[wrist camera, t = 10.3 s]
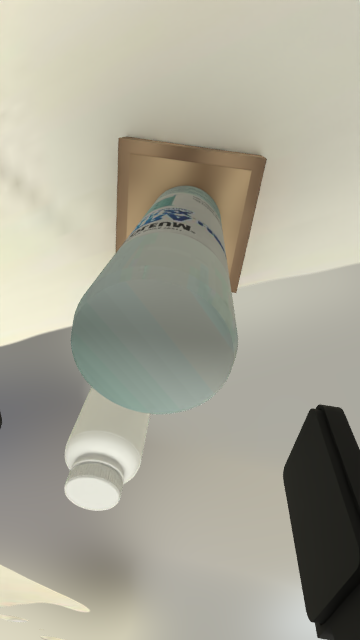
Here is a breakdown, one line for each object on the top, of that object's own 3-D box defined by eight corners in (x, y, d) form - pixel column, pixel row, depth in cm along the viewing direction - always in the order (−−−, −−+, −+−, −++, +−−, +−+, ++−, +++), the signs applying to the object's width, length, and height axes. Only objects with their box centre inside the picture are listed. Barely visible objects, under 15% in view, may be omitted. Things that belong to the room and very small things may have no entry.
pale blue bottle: (175, 270, 32) (136, 436, 15) (134, 211, 30) (29, 329, 13) (235, 233, 30) (270, 378, 13) (196, 166, 28) (173, 235, 10)
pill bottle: (154, 412, 46) (133, 523, 33) (96, 406, 47) (53, 514, 34) (156, 365, 42) (132, 472, 29) (93, 359, 43) (41, 462, 30)
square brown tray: (261, 155, 30) (266, 159, 27) (234, 280, 36) (236, 293, 33) (126, 136, 30) (118, 138, 27) (121, 264, 36) (114, 276, 33)
